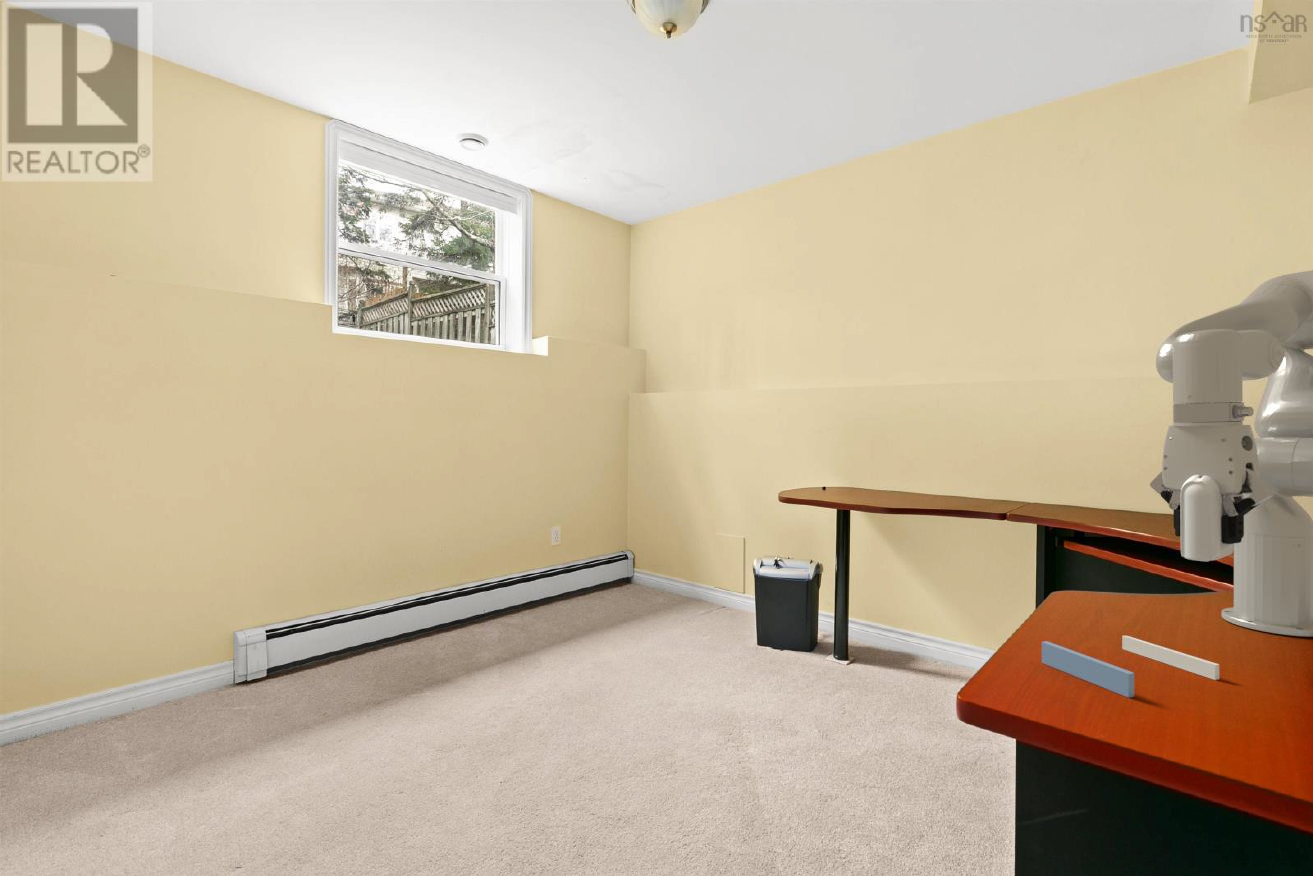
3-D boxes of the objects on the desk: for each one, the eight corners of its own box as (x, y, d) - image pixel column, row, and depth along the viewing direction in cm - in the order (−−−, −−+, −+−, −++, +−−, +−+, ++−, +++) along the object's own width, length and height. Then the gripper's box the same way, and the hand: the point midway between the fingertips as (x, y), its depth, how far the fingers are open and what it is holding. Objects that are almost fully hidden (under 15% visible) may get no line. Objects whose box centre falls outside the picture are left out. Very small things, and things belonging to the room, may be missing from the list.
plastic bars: (1126, 648, 93) (1126, 628, 92) (1219, 679, 81) (1219, 657, 81) (1041, 662, 87) (1041, 642, 87) (1128, 697, 76) (1128, 674, 76)
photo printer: (1200, 549, 94) (1200, 469, 93) (1238, 553, 90) (1237, 470, 90) (1175, 559, 88) (1175, 474, 88) (1214, 564, 84) (1214, 475, 84)
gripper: (1299, 413, 82) (1299, 548, 82) (1160, 416, 98) (1161, 528, 98) (1263, 415, 79) (1263, 553, 80) (1127, 417, 96) (1128, 531, 96)
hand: (1207, 538), depth 89 cm, fingers closed on photo printer, 5 cm apart
